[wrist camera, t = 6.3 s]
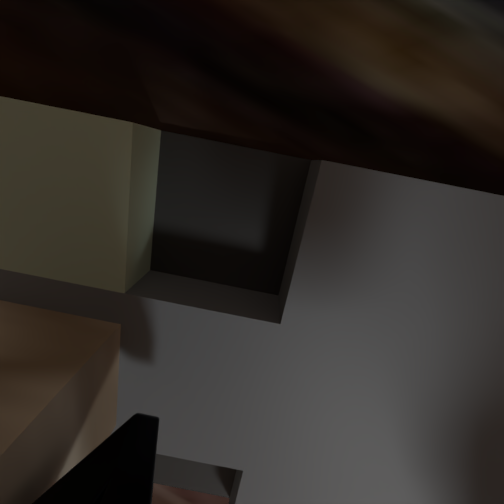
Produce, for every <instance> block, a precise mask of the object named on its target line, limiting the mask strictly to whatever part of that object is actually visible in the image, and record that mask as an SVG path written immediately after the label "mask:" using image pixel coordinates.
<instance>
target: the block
mask: <svg viewBox="0 0 504 504" xmlns="http://www.w3.org/2000/svg"><path fill="white" fill-rule="evenodd" d="M120 332H121V324H117V323H112V322H107V321H102V320H97V319H92V318H87V317H82V316H77V315H72V314H67V313H62V312H57V311H52V310H47V309H42V308H37V307H32V306H27V305H22V304H17V303H12V302H7V301H2V300H0V504H32V503H33V502H34V501H35V500H36V499H37V498H39V497H40V496H41V495H42V494H43V493H44V492H45V491H47V490H48V489H49V488H50V487H51V486H52V485H54V484H55V483H56V482H57V481H58V480H59V479H60V478H62V477H63V476H64V475H65V474H66V473H67V472H68V471H70V470H71V469H72V468H73V467H74V466H75V465H77V464H78V463H79V462H80V461H81V460H82V459H83V458H85V457H86V456H87V455H88V454H89V453H90V452H91V451H93V450H94V449H95V448H96V447H97V446H98V445H100V444H101V443H102V442H103V441H104V440H105V439H106V438H108V437H109V436H110V434H111V433H112V431H113V429H114V428H115V426H116V416H117V395H118V374H119V353H120Z"/></svg>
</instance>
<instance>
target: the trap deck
mask: <svg viewBox="0 0 504 504" xmlns="http://www.w3.org/2000/svg"><path fill="white" fill-rule="evenodd" d="M0 300H2V301H7V302H12V303H17V304H22V305H27V306H32V307H37V308H42V309H47V310H52V311H57V312H62V313H67V314H72V315H77V316H82V317H87V318H92V319H97V320H102V321H107V322H112V323H117V324H121V332H120V353H119V374H118V395H117V416H116V426H115V428H114V429H113V431H112V433H113V432H114V431H116V430H117V429H118V428H119V427H120V426H121V425H123V424H124V423H125V422H126V421H127V420H128V419H129V418H131V417H132V416H133V415H134V414H136V413H142V414H147V415H152V416H157V417H159V430H158V441H157V451H156V461H155V471H154V482H153V483H157V484H162V485H167V486H172V487H177V488H182V489H187V490H193V491H198V492H203V493H208V494H213V495H218V496H223V497H228V498H230V499H229V504H504V196H502V195H497V194H492V193H487V192H482V191H477V190H472V189H467V188H461V187H456V186H451V185H446V184H441V183H436V182H431V181H426V180H421V179H416V178H411V177H406V176H401V175H396V174H391V173H386V172H381V171H376V170H371V169H365V168H360V167H355V166H350V165H345V164H340V163H335V162H330V161H325V160H308V159H303V158H298V157H293V156H288V155H283V154H278V153H273V152H268V151H263V150H258V149H252V148H247V147H242V146H237V145H232V144H227V143H222V142H217V141H212V140H207V139H202V138H197V137H192V136H187V135H182V134H177V133H172V132H167V131H162V130H158V129H154V128H151V127H147V126H144V125H140V124H137V123H133V122H128V121H123V120H118V119H113V118H108V117H103V116H98V115H93V114H88V113H82V112H77V111H72V110H67V109H62V108H57V107H52V106H47V105H42V104H37V103H32V102H27V101H22V100H17V99H12V98H7V97H2V96H0ZM112 433H111V434H112ZM111 434H110V435H111Z"/></svg>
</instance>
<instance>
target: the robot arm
mask: <svg viewBox="0 0 504 504" xmlns="http://www.w3.org/2000/svg"><path fill="white" fill-rule="evenodd" d="M158 430H159V417H157V416H152V415H147V414H142V413H136V414H134V415H133V416H132V417H131V418H129V419H128V420H127V421H126V422H125V423H124V424H123V425H121V426H120V427H119V428H118V429H117V430H116V431H114V432H113V433H112V434H111V435H110V436H109V437H108V438H106V439H105V440H104V441H103V442H102V443H101V444H100V445H98V446H97V447H96V448H95V449H94V450H93V451H91V452H90V453H89V454H88V455H87V456H86V457H85V458H83V459H82V460H81V461H80V462H79V463H78V464H77V465H75V466H74V467H73V468H72V469H71V470H70V471H68V472H67V473H66V474H65V475H64V476H63V477H62V478H60V479H59V480H58V481H57V482H56V483H55V484H54V485H52V486H51V487H50V488H49V489H48V490H47V491H45V492H44V493H43V494H42V495H41V496H40V497H39V498H37V499H36V500H35V501H34V502H33V503H32V504H151V502H152V492H153V482H154V471H155V461H156V451H157V441H158Z"/></svg>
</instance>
